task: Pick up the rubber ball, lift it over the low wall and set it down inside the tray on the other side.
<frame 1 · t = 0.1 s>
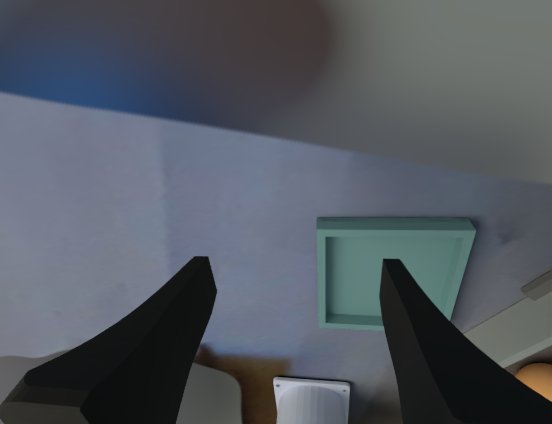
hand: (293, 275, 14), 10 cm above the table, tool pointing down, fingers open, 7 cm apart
wall: (475, 331, 28), on the table
ball: (549, 395, 27), point 2 cm above the table
tray: (383, 272, 26), on the table
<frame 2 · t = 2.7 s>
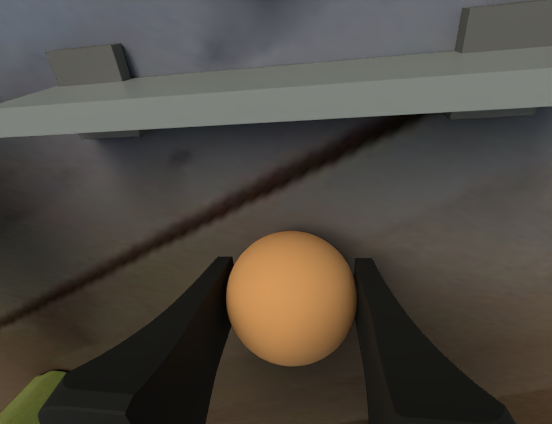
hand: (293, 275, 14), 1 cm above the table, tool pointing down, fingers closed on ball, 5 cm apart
plant pot: (78, 390, 25), on the table
wall: (281, 78, 11), on the table
ball: (291, 295, 13), point 2 cm above the table, touching gripper
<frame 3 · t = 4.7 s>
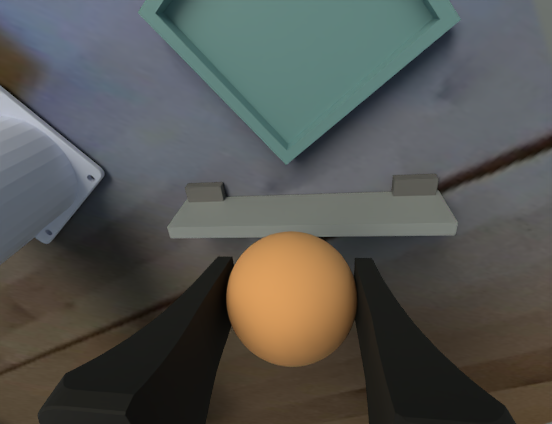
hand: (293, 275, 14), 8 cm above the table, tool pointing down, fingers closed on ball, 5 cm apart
wall: (305, 199, 21), on the table
ball: (291, 295, 13), point 9 cm above the table, touching gripper
tray: (294, 15, 16), on the table
when the fingers open (3 cm above the table, at t = 6.7 s): ball drops 1 cm, resting on tray.
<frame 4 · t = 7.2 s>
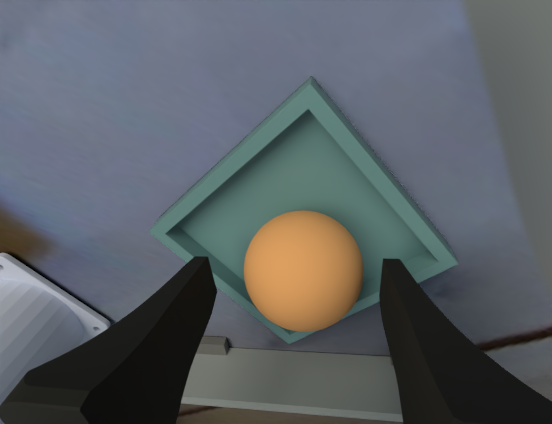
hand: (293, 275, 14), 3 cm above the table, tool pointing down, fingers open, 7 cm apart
wall: (306, 355, 22), on the table
ball: (302, 269, 14), point 3 cm above the table, tilted 10°, touching tray
tray: (299, 228, 17), on the table
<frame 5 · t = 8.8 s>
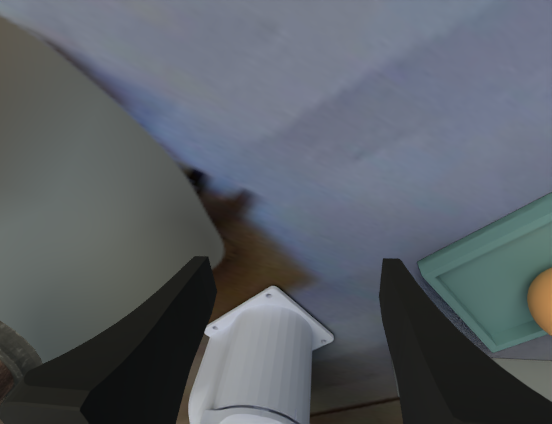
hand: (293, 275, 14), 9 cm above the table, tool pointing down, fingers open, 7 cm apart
wall: (486, 360, 29), on the table
tray: (521, 271, 23), on the table
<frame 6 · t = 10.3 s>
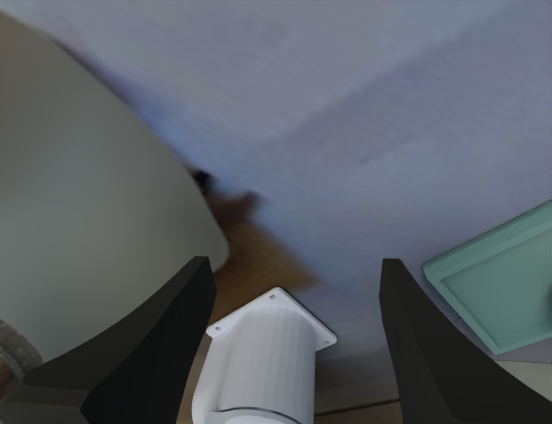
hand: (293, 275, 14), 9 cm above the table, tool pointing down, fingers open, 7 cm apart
wall: (489, 363, 29), on the table
tray: (525, 275, 23), on the table
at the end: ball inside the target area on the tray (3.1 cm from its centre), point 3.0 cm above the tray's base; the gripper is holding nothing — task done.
